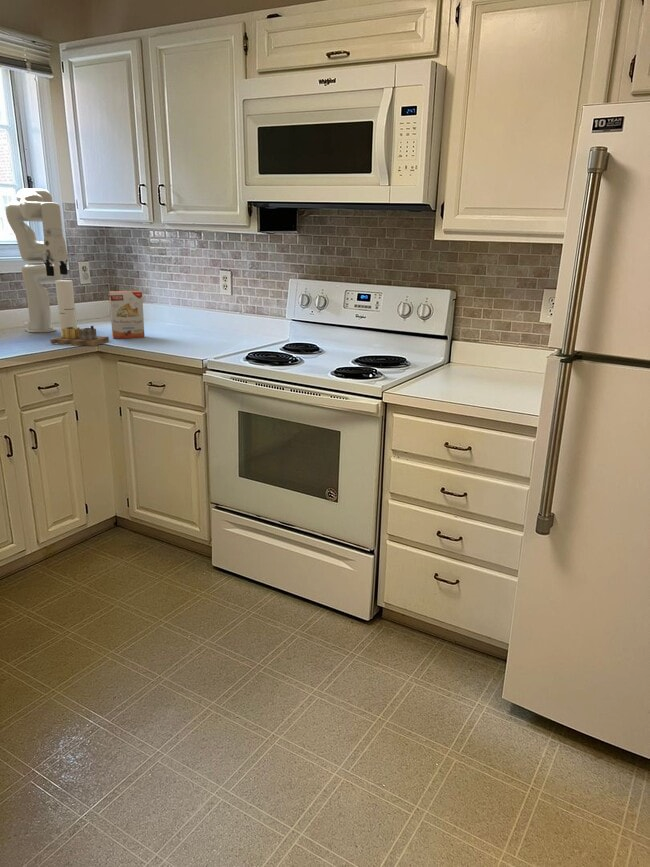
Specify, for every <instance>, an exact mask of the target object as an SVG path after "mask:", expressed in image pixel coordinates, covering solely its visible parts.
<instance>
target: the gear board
mask: <svg viewBox="0 0 650 867" xmlns="http://www.w3.org/2000/svg"><path fill="white" fill-rule="evenodd" d="M68 329H73V327H68ZM108 342H110V338H109V336H100V335H99V336H97V328H95V327H94V325H90V327H84V328H79V338H75V339H71V338H70V339H66V338H63V336H61V335H60V336H58V337H53V338H50V344H51V343H58V344H57V345H64V344H71V345H70V346H84V347H85V346H86V347H95V346H98V345H101V344H105V343H108Z"/></svg>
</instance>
